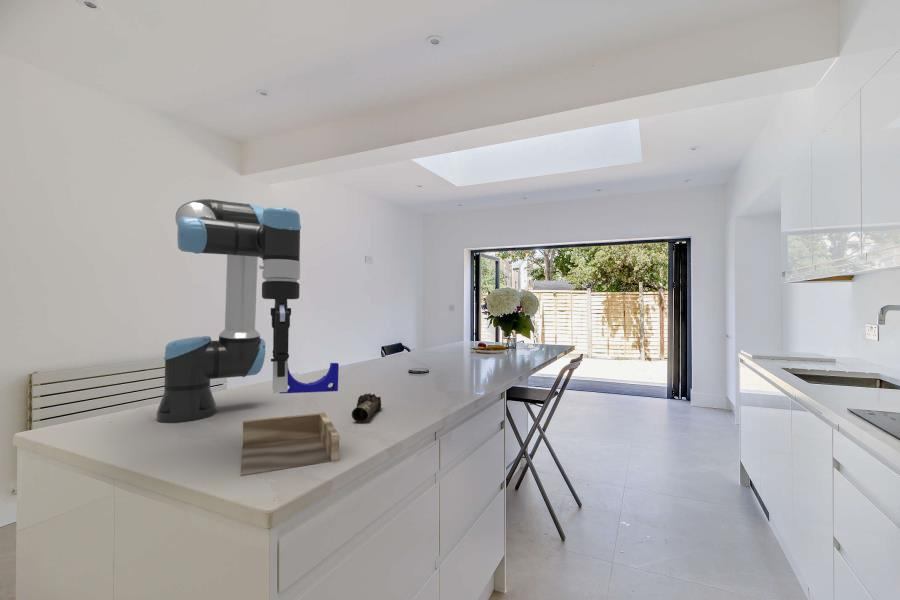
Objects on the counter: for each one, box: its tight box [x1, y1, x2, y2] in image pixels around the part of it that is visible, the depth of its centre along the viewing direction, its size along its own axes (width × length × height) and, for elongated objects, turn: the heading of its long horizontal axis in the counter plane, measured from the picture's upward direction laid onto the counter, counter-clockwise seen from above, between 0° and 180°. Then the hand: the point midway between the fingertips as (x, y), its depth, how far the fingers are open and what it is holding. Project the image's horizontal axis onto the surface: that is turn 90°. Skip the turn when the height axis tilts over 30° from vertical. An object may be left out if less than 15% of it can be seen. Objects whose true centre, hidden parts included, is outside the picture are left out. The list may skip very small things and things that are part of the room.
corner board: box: [240, 412, 340, 477], centre depth 94 cm, size 20×18×6 cm
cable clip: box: [278, 362, 340, 394], centre depth 94 cm, size 12×4×6 cm, turn 111°
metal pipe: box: [351, 392, 382, 424], centre depth 125 cm, size 18×7×6 cm, turn 175°
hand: (279, 390), depth 91 cm, fingers closed on cable clip, 3 cm apart
